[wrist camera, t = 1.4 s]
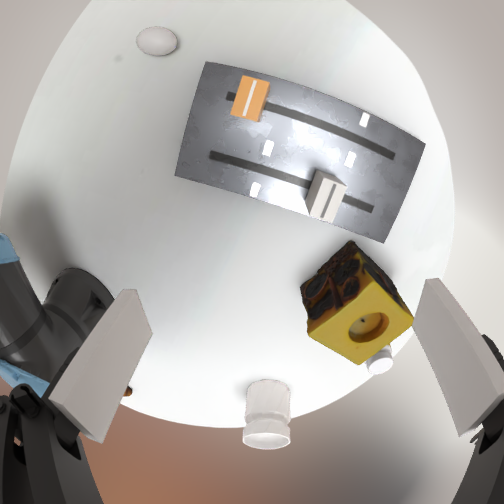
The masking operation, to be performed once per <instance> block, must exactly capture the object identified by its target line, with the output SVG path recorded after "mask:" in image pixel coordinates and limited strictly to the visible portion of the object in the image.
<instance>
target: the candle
mask: <svg viewBox="0 0 504 504" xmlns="http://www.w3.org/2000/svg"><path fill="white" fill-rule="evenodd" d="M300 290H301V294H302V295H301V296H302V297H303V298H302V300H303V301H302V303H303V304H304V307H305V309H306V311H307V314H308V320H307V326H308V327H307V333H308V336H309V337H311V338H312V339H314V340H316V341H318V342H319V343H321V344H323V345H324V346H326V347H328V348H330V349H332V350H333V351H335V352H337V353H339V354H340V355H342V356H344V357H345V358H347V359H348V360H350V361H352V362H353V363H355V364H357V365H360V364H362V363H363V362H365V361H366V360H367V359H369V358H370V357H372V356H373V355H375V354H376V353H377V352H378V351H380V350H381V349H382V348H384V347H385V346H386V345H388V344H389V343H390V342H392V341H393V340H394V339H395V338H397V337H398V336H400V335H401V334H402V333H403V332H404V331H406V330H407V329H408V328H409V327H411V326H412V323H413V320H414V317H413V315H412V314H411V312H410V310H409V309H408V307H407V306H406V304H405V302H403V300H402V298H401V296H400V295H399V293H398V292H397V288H396V287H395V285H394V284H393V282H392V280H391V279H389V277H388V276H387V275H386V274H385V273H384V271H383V270H382V269H380V267H378V266H377V264H376V263H374V261H373V260H371V259H370V257H368V256H367V255H366V254H365V253H364V252H363V251H362V250H361V249H360V248H359V247H358V246H357V245H356V244H355V242H350V241H349V242H348V243H347V244H346V245H345V246H344V247H343V248H342V249H341V250H340V251H339V252H338V253H336V254H335V255H334V256H333V257H332V258H331V259H330V260H329V261H328V262H327V263H325V264H324V265H323V266H322V267H321V269H319V270H318V274H317V275H316V276H314V277H313V278H312V279H310V280H309V281H307V282H305V283H304V284H303V285H302V286H301V287H300Z"/></svg>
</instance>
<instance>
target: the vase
mask: <svg viewBox="0 0 504 504" xmlns="http://www.w3.org/2000/svg"><path fill="white" fill-rule="evenodd" d="M290 420H291V417H290V390H289V388H288V387H287V385H286V384H284V383H282V382H279V381H277V380H261V381H257V382H254V383H253V384H252V385H251V386H250V387H248V391H247V399H246V412H245V421H246V423H247V424H246V426H245V427H244V429H243V443H245V444H247V445H248V446H250V447H254V448H259V449H277V448H281V447H285V446H286V445H288V444H289V443H290V428H289V427H288V426H287V425H288V423H289V422H290Z"/></svg>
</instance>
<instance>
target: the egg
mask: <svg viewBox="0 0 504 504" xmlns="http://www.w3.org/2000/svg"><path fill="white" fill-rule="evenodd" d="M136 43H137V46H138V47H139V49H140V50H142V51H143V52H144V53H146V54H149V55H155V56H161V55H166V54H168V53H170V52H172V51H173V50H174V49H175V47H176V45H177V39H176V37H175V35H174V34H173V33H172V32H171V31H170V30H168V29H165V28H162V27H150V28H146V29H144V30H143V31H141V32H140V33H139V34H138V36H137V39H136Z"/></svg>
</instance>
